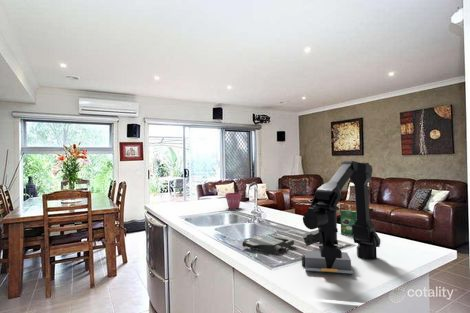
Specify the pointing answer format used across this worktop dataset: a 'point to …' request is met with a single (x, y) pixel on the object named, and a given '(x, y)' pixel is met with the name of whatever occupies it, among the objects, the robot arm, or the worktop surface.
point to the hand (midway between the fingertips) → (328, 269)
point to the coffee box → (347, 221)
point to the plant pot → (233, 200)
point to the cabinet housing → (316, 261)
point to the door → (329, 270)
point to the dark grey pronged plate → (268, 243)
